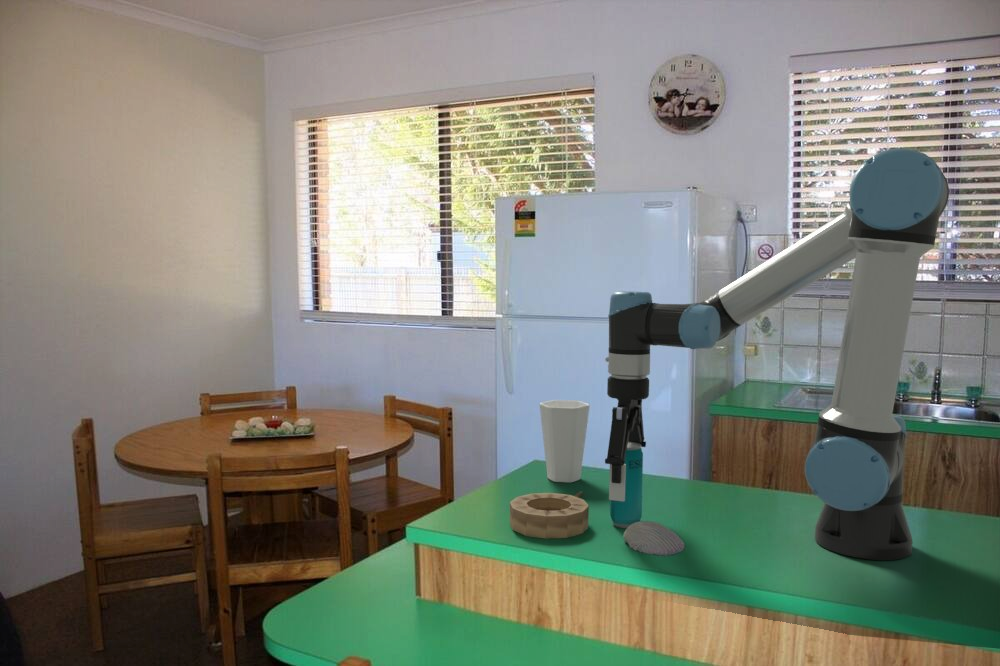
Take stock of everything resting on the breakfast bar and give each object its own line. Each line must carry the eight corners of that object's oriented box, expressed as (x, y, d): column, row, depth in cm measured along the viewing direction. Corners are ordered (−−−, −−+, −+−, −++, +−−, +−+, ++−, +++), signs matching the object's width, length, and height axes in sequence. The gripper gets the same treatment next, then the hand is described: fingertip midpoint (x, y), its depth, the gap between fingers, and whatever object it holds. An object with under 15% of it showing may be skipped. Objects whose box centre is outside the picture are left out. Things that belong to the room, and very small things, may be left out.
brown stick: (582, 494, 161) (582, 492, 161) (562, 514, 148) (562, 511, 148) (578, 494, 162) (578, 491, 162) (558, 513, 149) (558, 510, 149)
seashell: (621, 516, 138) (677, 508, 136) (627, 546, 138) (684, 538, 136) (619, 534, 128) (680, 525, 126) (626, 566, 128) (686, 558, 126)
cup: (590, 474, 178) (591, 401, 177) (586, 486, 168) (587, 408, 167) (542, 471, 180) (542, 399, 179) (536, 483, 170) (536, 406, 169)
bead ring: (595, 518, 146) (595, 498, 145) (574, 542, 133) (574, 519, 133) (526, 509, 151) (526, 489, 151) (499, 532, 138) (499, 510, 138)
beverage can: (648, 525, 142) (649, 445, 141) (625, 531, 139) (626, 449, 137) (626, 517, 147) (627, 439, 145) (603, 522, 143) (604, 443, 142)
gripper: (623, 367, 153) (620, 471, 155) (590, 383, 130) (587, 506, 132) (661, 369, 151) (658, 475, 152) (634, 386, 128) (631, 512, 129)
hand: (625, 490), depth 142 cm, fingers open, 13 cm apart
